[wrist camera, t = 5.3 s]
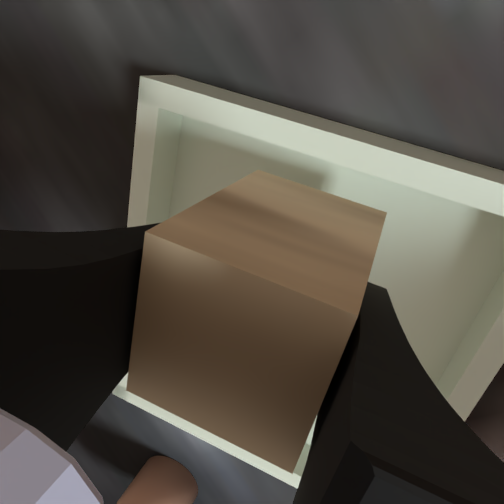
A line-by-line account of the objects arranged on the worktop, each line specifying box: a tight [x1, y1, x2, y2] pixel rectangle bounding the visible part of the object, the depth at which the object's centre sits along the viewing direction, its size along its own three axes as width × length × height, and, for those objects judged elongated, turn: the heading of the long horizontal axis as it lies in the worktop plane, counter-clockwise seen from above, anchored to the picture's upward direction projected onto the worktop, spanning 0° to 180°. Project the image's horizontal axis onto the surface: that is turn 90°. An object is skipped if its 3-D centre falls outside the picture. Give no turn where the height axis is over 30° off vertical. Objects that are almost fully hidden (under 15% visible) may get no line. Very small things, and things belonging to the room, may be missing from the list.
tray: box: [113, 75, 504, 489], centre depth 16 cm, size 14×15×2 cm
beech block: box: [126, 170, 387, 474], centre depth 11 cm, size 4×4×6 cm
